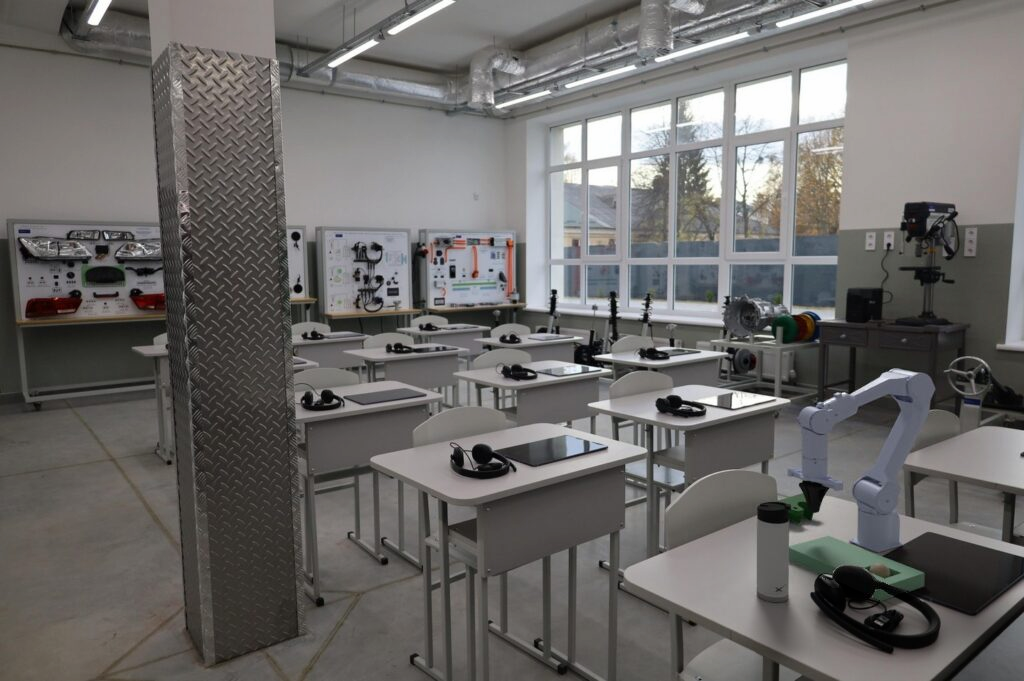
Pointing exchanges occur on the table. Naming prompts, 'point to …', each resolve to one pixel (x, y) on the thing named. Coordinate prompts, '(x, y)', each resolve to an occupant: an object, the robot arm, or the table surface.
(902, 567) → the putting board
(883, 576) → the maple ball
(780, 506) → the travel mug
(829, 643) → the table surface
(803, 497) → the clamp
